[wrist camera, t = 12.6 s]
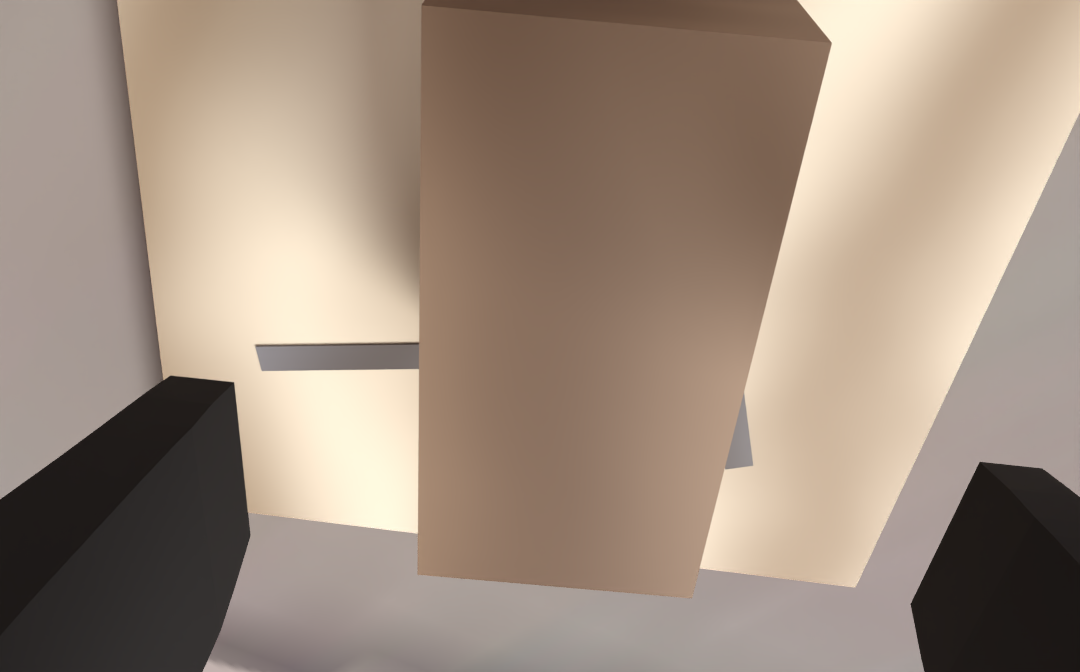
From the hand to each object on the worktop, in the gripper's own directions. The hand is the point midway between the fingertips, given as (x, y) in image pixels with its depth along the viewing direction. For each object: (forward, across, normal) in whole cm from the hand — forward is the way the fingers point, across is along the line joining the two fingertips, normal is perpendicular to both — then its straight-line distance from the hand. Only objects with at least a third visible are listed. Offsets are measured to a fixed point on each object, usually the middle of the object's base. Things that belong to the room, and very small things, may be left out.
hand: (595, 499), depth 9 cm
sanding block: (+8, 0, 0) cm, 8 cm away
